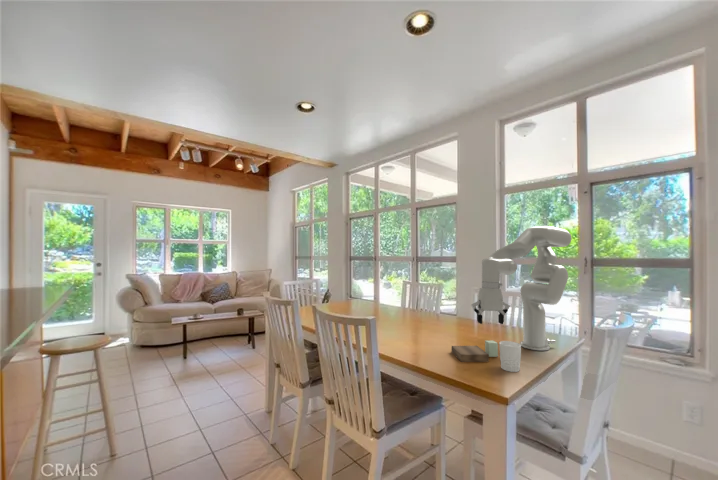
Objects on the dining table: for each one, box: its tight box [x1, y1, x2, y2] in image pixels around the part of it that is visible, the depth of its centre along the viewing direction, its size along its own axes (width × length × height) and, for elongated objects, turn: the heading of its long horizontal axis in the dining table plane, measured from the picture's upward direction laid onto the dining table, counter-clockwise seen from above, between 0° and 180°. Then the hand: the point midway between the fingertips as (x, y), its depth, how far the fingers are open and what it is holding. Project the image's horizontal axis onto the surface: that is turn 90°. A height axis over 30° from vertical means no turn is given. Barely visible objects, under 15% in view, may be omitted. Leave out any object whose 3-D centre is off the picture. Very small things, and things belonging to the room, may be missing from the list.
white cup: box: [498, 340, 522, 373], centre depth 122 cm, size 8×8×10 cm
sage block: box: [484, 340, 499, 358], centre depth 138 cm, size 4×4×6 cm
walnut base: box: [451, 345, 490, 363], centre depth 136 cm, size 12×12×3 cm
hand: (490, 323), depth 138 cm, fingers open, 9 cm apart
